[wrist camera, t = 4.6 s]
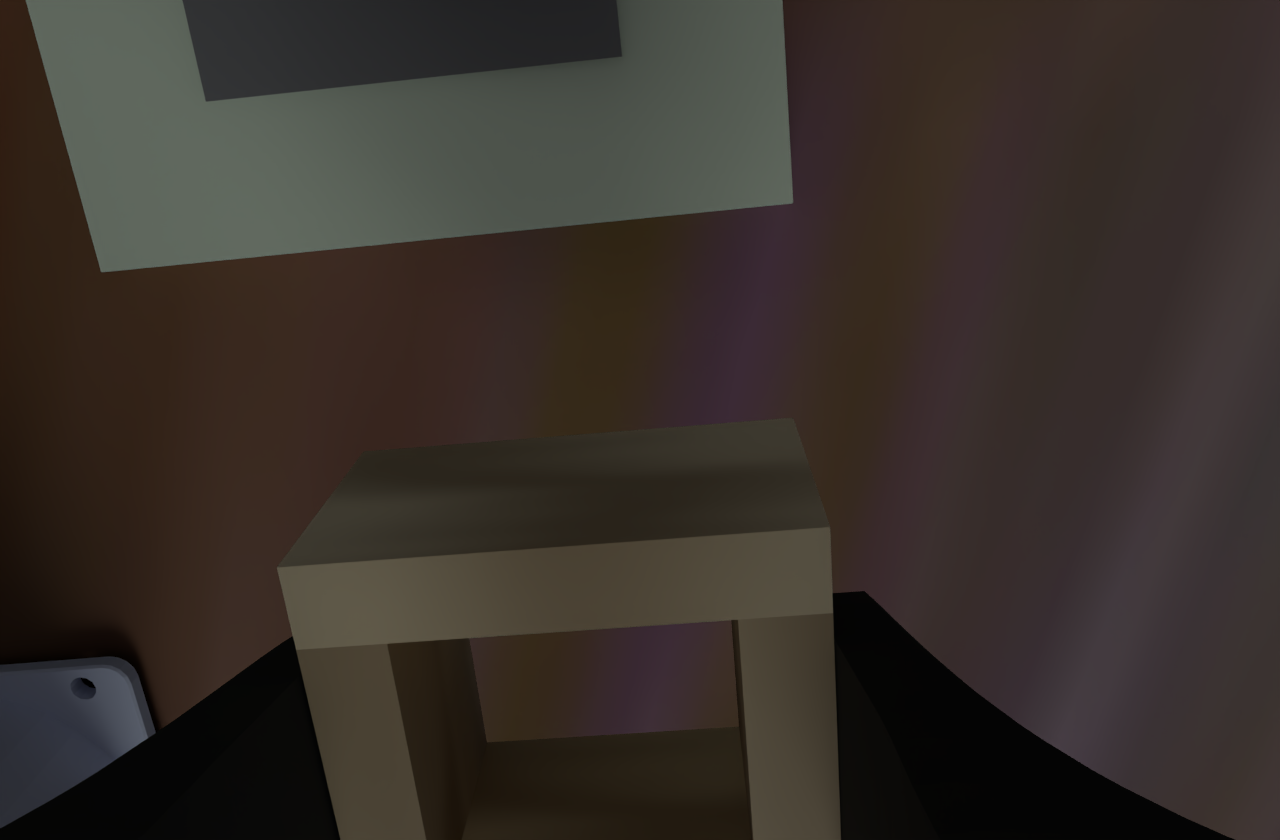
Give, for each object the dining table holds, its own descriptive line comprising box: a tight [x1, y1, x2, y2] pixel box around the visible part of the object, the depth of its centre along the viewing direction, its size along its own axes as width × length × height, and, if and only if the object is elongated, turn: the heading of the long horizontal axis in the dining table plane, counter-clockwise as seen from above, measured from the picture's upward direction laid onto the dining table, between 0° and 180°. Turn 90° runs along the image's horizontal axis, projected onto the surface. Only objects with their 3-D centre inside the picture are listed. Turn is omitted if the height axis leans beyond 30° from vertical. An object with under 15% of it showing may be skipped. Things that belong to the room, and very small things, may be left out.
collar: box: [277, 418, 841, 840], centre depth 12 cm, size 5×5×3 cm
